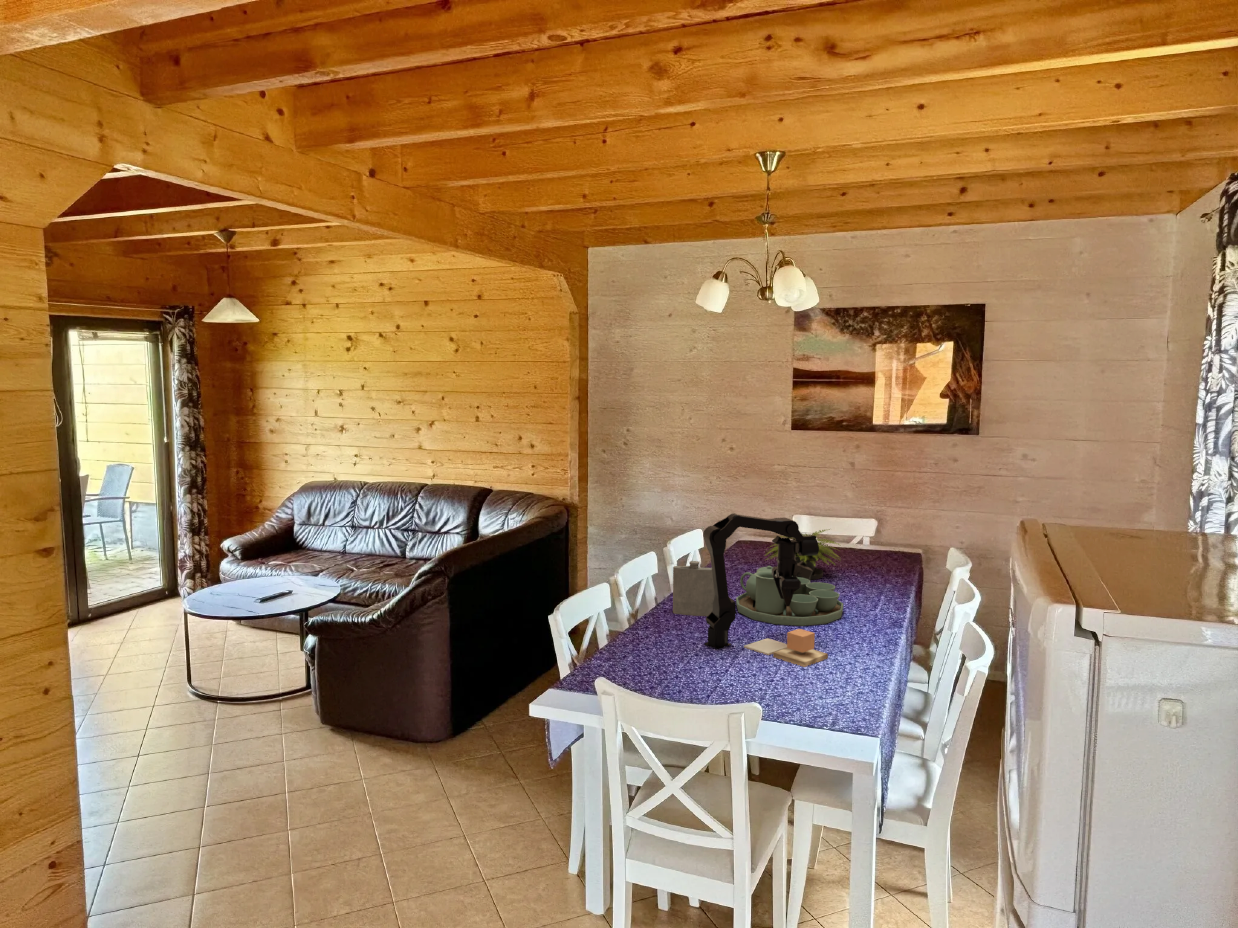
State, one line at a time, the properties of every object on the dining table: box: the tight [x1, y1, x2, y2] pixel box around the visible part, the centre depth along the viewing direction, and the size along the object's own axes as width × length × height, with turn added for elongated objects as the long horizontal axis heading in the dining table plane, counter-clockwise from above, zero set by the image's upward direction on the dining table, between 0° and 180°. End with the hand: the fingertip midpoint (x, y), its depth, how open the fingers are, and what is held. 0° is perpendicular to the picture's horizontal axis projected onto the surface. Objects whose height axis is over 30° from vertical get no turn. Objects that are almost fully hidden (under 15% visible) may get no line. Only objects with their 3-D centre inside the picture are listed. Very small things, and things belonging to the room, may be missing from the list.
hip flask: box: [672, 560, 715, 617], centre depth 308 cm, size 16×4×20 cm, turn 76°
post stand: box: [772, 648, 829, 668], centre depth 262 cm, size 12×12×8 cm
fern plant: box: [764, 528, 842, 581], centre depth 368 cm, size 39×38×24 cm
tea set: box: [735, 565, 844, 627], centre depth 313 cm, size 40×40×16 cm
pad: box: [743, 637, 787, 656], centre depth 272 cm, size 12×10×1 cm
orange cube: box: [786, 628, 816, 653], centre depth 261 cm, size 6×6×5 cm
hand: (785, 602), depth 277 cm, fingers open, 9 cm apart
